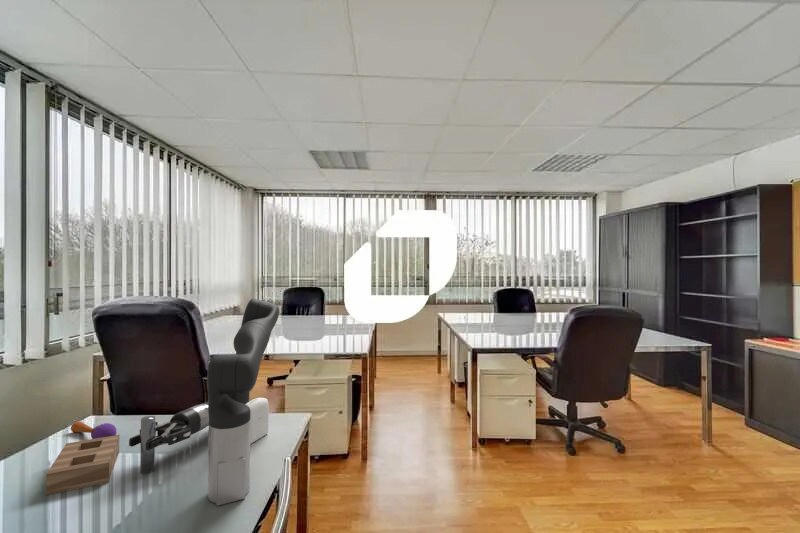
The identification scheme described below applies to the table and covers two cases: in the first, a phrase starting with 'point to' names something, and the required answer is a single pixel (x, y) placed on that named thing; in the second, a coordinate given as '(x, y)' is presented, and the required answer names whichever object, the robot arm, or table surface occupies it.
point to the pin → (146, 434)
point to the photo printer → (258, 418)
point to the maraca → (95, 429)
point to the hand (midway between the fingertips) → (138, 444)
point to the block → (83, 464)
